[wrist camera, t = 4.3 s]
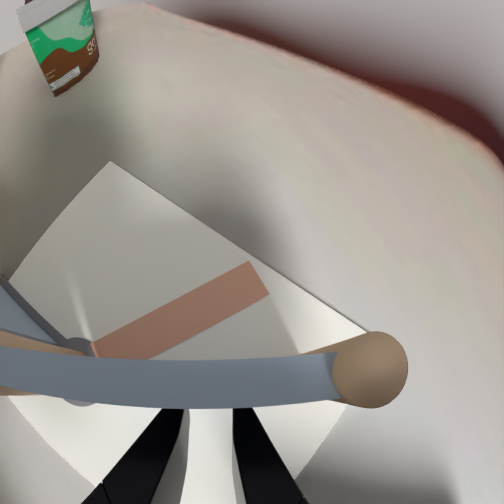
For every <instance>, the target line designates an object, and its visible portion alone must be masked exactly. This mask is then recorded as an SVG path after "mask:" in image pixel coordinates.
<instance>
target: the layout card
mask: <svg viewBox="0 0 504 504" xmlns="http://www.w3.org/2000/svg"><path fill="white" fill-rule="evenodd" d="M1 281H2V287H3V289H4V290H5V291H6V292H7V293H8V294H9V295H10V296H11V298H12V299H13V300H14V301H15V302H16V303H17V304H18V305H19V306H20V307H21V308H22V309H23V310H24V311H25V312H26V314H27V315H28V316H29V317H30V318H31V319H32V320H33V321H34V322H35V323H36V324H37V325H38V326H39V327H40V328H41V329H42V330H44V331H45V332H46V333H47V334H48V335H49V336H50V337H51V338H52V339H53V340H54V341H55V342H56V343H57V346H59V347H63V348H68V349H72V350H77V351H81V352H84V353H86V354H87V355H88V356H89V357H102V358H119V359H141V360H231V359H254V358H271V357H285V356H295V355H299V354H302V353H306V352H309V351H312V350H316V349H319V348H322V347H325V346H328V345H332V344H335V343H338V342H341V341H344V340H347V339H350V338H353V337H356V336H359V335H361V334H364V333H367V332H366V331H364V330H363V329H361V328H360V327H358V326H357V325H355V324H354V323H352V322H351V321H349V320H348V319H346V318H345V317H343V316H342V315H340V314H339V313H337V312H336V311H334V310H333V309H331V308H330V307H328V306H327V305H325V304H324V303H322V302H321V301H319V300H318V299H316V298H315V297H313V296H312V295H310V294H309V293H307V292H306V291H304V290H303V289H301V288H300V287H298V286H297V285H295V284H294V283H292V282H291V281H289V280H288V279H286V278H285V277H283V276H282V275H280V274H279V273H277V272H276V271H274V270H273V269H271V268H270V267H268V266H267V265H265V264H264V263H262V262H261V261H259V260H258V259H256V258H255V257H253V256H252V255H250V254H249V253H247V252H246V251H244V250H243V249H241V248H240V247H238V246H237V245H235V244H234V243H232V242H231V241H229V240H228V239H226V238H225V237H223V236H222V235H220V234H219V233H217V232H216V231H214V230H213V229H211V228H210V227H208V226H207V225H205V224H204V223H202V222H201V221H199V220H198V219H196V218H195V217H193V216H192V215H190V214H189V213H187V212H186V211H184V210H183V209H181V208H180V207H178V206H177V205H175V204H174V203H172V202H171V201H169V200H168V199H166V198H165V197H163V196H162V195H160V194H159V193H158V192H156V191H155V190H153V189H152V188H150V187H149V186H147V185H146V184H144V183H143V182H141V181H140V180H138V179H137V178H135V177H134V176H132V175H131V174H129V173H128V172H126V171H125V170H123V169H122V168H120V167H119V166H117V165H116V164H114V163H113V162H111V161H109V162H108V163H107V164H106V165H105V166H104V167H103V168H102V169H101V170H100V171H99V172H98V173H97V174H96V175H95V176H94V177H93V178H92V180H91V181H90V182H89V183H88V184H87V185H86V186H85V187H84V188H83V189H82V190H81V191H80V192H79V193H78V194H77V196H76V197H75V198H74V199H73V200H72V201H71V202H70V203H69V204H68V206H67V207H66V208H65V209H64V210H63V211H62V212H61V214H60V215H59V216H58V217H57V218H56V219H55V221H54V222H53V223H52V224H51V225H50V227H49V228H48V229H47V230H46V231H45V233H44V234H43V235H42V236H41V238H40V239H39V240H38V241H37V243H36V244H35V245H34V247H33V248H32V249H31V250H30V252H29V253H28V254H27V256H26V257H25V258H24V260H23V261H22V262H21V264H20V265H19V267H18V268H17V269H16V271H15V272H14V274H13V275H12V276H11V278H10V279H9V281H8V280H7V279H6V278H5V277H4V276H3V275H2V277H1ZM8 397H9V398H10V400H11V401H12V402H13V404H14V405H15V406H16V407H17V408H18V410H19V411H20V412H21V413H22V414H23V416H24V417H25V418H26V419H27V420H28V422H29V423H30V424H31V425H32V426H33V427H34V428H35V429H36V430H37V432H38V433H39V434H40V435H41V436H42V437H43V438H44V439H45V440H46V441H47V442H48V443H49V444H50V445H51V446H52V447H53V448H54V449H55V450H56V451H57V452H58V453H59V454H60V455H61V456H62V457H63V458H64V459H65V460H66V461H67V462H68V463H69V464H70V465H71V466H72V467H73V468H74V469H76V470H77V471H78V472H79V473H80V474H81V475H82V476H83V477H85V478H86V479H87V480H88V481H89V482H90V483H92V484H93V485H94V486H95V487H97V486H98V484H99V483H102V480H103V479H104V478H105V476H106V475H107V474H108V473H109V472H110V470H111V469H112V468H113V467H114V466H115V464H116V463H117V462H118V461H119V460H120V459H121V457H122V456H123V455H124V454H125V453H126V451H127V450H128V449H129V448H130V447H131V445H132V444H133V443H134V442H135V440H136V439H137V438H138V437H139V436H140V434H141V433H142V432H143V431H144V430H145V428H146V427H147V426H148V425H149V423H150V422H151V421H152V420H153V419H154V417H155V416H156V415H157V414H158V412H159V411H160V410H161V409H162V408H146V407H131V406H119V405H109V404H99V403H91V402H83V401H76V400H69V399H63V398H57V397H51V396H46V395H28V396H8ZM346 406H347V404H344V403H339V402H335V401H330V400H324V401H316V402H308V403H299V404H290V405H279V406H267V407H253V409H254V411H255V413H256V415H257V416H258V418H259V420H260V422H261V424H262V425H263V427H264V429H265V431H266V433H267V434H268V436H269V438H270V440H271V441H272V443H273V445H274V447H275V448H276V450H277V452H278V453H279V455H280V457H281V459H282V460H283V462H284V464H285V465H286V467H287V469H288V470H289V472H290V474H291V475H292V477H293V479H294V480H295V479H296V478H297V476H298V475H299V474H300V472H301V471H302V470H303V468H304V467H305V466H306V464H307V463H308V462H309V460H310V459H311V458H312V456H313V455H314V454H315V452H316V451H317V449H318V448H319V447H320V445H321V444H322V442H323V441H324V439H325V438H326V437H327V435H328V434H329V432H330V431H331V429H332V428H333V426H334V425H335V423H336V422H337V420H338V419H339V417H340V415H341V414H342V412H343V411H344V409H345V408H346ZM189 412H190V429H189V444H188V461H187V470H186V476H185V481H184V486H183V491H182V496H181V501H180V504H237V502H236V496H235V489H234V482H233V474H232V408H230V409H189Z"/></svg>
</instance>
